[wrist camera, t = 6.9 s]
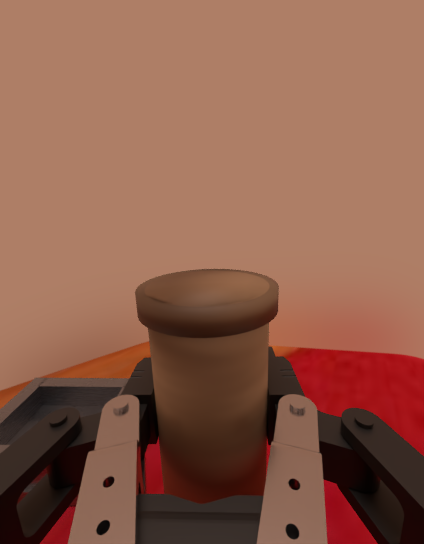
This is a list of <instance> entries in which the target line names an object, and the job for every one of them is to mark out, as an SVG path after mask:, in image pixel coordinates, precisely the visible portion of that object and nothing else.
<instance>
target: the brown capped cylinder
mask: <svg viewBox="0 0 424 544" xmlns="http://www.w3.org/2000/svg"><path fill="white" fill-rule="evenodd" d="M278 289H279V288H278V284H277V283H276V281H274V280H273V279H271V278H269V277H267V276H265V275H262V274H258V273H253V272H248V271H241V270H230V269H202V270H190V271H182V272H176V273H171V274H166V275H162V276H159V277H156V278H153V279H150V280H148V281H146V282H144V283H143V284H141V285H140V286H139V287H138V288H137V289H136V292H135V295H136V304H137V313H138V318H139V321H140V322H141V323H142V324H143V325H145V326H146V327H147V328H148V332H149V342H150V352H151V362H152V373H153V383H154V393H155V403H156V413H157V423H158V433H159V444H160V454H161V464H162V474H163V484H164V494H170V495H173V496H176V497H180V498H183V499H186V500H189V501H192V502H195V503H198V504H205V503H209V502H213V501H216V500H220V499H224V498H227V497H231V496H235V495H252V496H264V490H265V483H266V451H267V390H268V340H269V322H270V321H271V320H273V319H274V317H275V316H276V315H277V312H278Z"/></svg>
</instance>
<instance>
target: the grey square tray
mask: <svg viewBox="0 0 424 544" xmlns="http://www.w3.org/2000/svg"><path fill="white" fill-rule="evenodd" d="M128 380H129V379H118V378H35V379H34V380H33V381H32V382H30V383H29V384H28V385H27V386H26V387H25V388H24V389H23V390H22V391H20V392H19V393H18V394H17V395H16V396H15V397H14V398H13V399H11V400H10V401H9V402H8V403H7V404H6V405H5V406H4V407H3V408H1V409H0V453H1V452H3V451H4V450H5V449H6V448H7V447H9V446H10V445H11V444H12V443H14V442H15V441H16V440H17V439H19V438H20V437H21V436H22V435H23V434H25V433H26V432H27V431H28V430H30V429H31V428H32V427H33V426H34V425H36V424H37V423H38V422H39V421H41V420H42V419H43V418H44V417H46V416H47V415H48V414H50V413H52V412H54V411H56V410H58V409H62V408H67V407H72V408H76V409H77V410H78V411H79V413H80V417H84V416H89V415H93V414H97V413H100V412H102V409H103V407H104V406H105V404H106V403H107V402H108V401H110V400H111V399H113V398H115V397H118V396H120V395H121V393H122V391H123V389H124V387H125V386H126V384H127V382H128ZM46 474H47V471H46V468H45V469H44V470H43V471H42V472H41V473H40V474H39V475H38V476H37V477H36V478H35V479H34V480H33V481H32V482H31V483H30V484H29V485H28V486H27V487H26V489H25V490H24V491H23V492H22V494H21V495H20V497H19V499H18V502H17V504H18V503H19V502H20V501H21V500H22V499H23V498H24V497H25V496H26V495H27V494H28V493H29V492H30V491H31V490H32V489H33V487H34V486H35V485H36V484H37V483H38V482H39V481H40V480H41V479H42V478H43V477H44V476H45V475H46ZM78 496H79V494H78V495H77V496H76V498H75V499H74V500H73V501H72V503H71V504H70V505H69V506H76V505H77V500H78Z"/></svg>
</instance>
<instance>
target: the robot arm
mask: <svg viewBox="0 0 424 544" xmlns="http://www.w3.org/2000/svg"><path fill="white" fill-rule="evenodd" d="M158 436H159V433H158V423H157V413H156V403H155V393H154V383H153V373H152V362H151V358H144V359H143V360H141V361H140V362H139V363H138V364H137V366H136V367H135V369H134V372H133V373H132V375H131V378H129V380H128V382H127V384H126V386H125V387H124V389H123V391H122V393H121V395H120V396H118V397H115V398H113V399H111V400H110V401H108V402H107V403H106V404H105V406H104V407H103V409H102V412H100V413H97V414H93V415H89V416H84V417H80V413H79V411H78V410H77V409H76V408H72V407H67V408H62V409H58V410H56V411H54V412H52V413H50V414H48V415H47V416H46V417H44V418H43V419H42V420H41V421H39V422H38V423H37V424H36V425H34V426H33V427H32V428H31V429H30V430H28V431H27V432H26V433H25V434H23V435H22V436H21V437H20V438H19V439H17V440H16V441H15V442H14V443H12V444H11V445H10V446H9V447H7V448H6V449H5V450H4V451H3V452H1V453H0V544H40V542H41V541H42V540H43V539H44V537H45V536H46V535H47V533H48V532H49V531H50V530H51V528H52V527H53V526H54V524H55V523H56V522H57V521H58V519H59V518H60V517H61V516H62V514H63V513H64V512H65V510H66V509H67V508H68V507H69V505H70V504H71V503H72V501H73V500H74V499H75V498H76V496H77V495H78V494H79V496H78V500H77V505H76V509H75V514H74V518H73V523H72V527H71V532H70V536H69V541H68V544H327V531H326V515H325V499H324V483H323V479H324V480H327V481H330V482H333V483H336V484H337V485H338V488H339V489H340V491H341V492H342V494H343V495H344V496H345V498H346V499H347V501H348V502H349V503H350V505H351V506H352V508H353V509H354V510H355V512H356V513H357V515H358V516H359V518H360V519H361V520H362V522H363V523H364V525H365V526H366V527H367V529H368V530H369V532H370V533H371V534H372V536H373V537H374V539H375V540H376V542H377V543H378V544H424V456H423V455H421V454H420V453H419V452H418V451H417V450H416V449H415V448H413V447H412V446H411V445H410V444H409V443H408V442H407V441H405V440H404V439H403V438H402V437H401V436H400V435H399V434H397V433H396V432H395V431H394V430H393V429H392V428H391V427H389V426H388V425H387V424H386V423H385V422H384V421H382V420H381V419H380V418H379V417H378V416H376V415H375V414H373V413H371V412H369V411H367V410H364V409H359V408H349V409H346V410H345V411H344V412H343V413H342V417H337V416H333V415H329V414H326V413H323V412H320V411H318V410H317V408H316V406H315V404H314V403H313V402H312V401H311V400H309V399H308V398H306V397H305V395H304V393H303V391H302V389H301V386H300V384H299V382H298V380H297V377H296V375H295V373H294V371H293V368H292V366H291V364H290V362H289V361H288V360H286V359H285V358H284V357H275V354H274V351H273V349H272V347H268V390H267V439H268V444H269V445H271V449H270V456H269V462H268V469H267V476H266V483H265V490H264V496H252V495H235V496H231V497H227V498H224V499H220V500H216V501H213V502H209V503H205V504H198V503H195V502H192V501H189V500H186V499H183V498H180V497H176V496H173V495H170V494H146V457H145V452H146V449H147V446H148V444H156V443H157V440H158ZM45 468H46V471H47V474H46V475H45V476H44V477H43V478H42V479H41V480H40V481H39V482H38V483H37V484H36V485H35V486H34V487H33V489H32V490H31V491H30V492H29V493H28V494H27V495H26V496H25V497H24V498H23V499H22V500H21V501H20V502H19V503H18V504H17V502H18V499H19V497H20V495H21V494H22V492H23V491H24V490H25V489H26V487H27V486H28V485H29V484H30V483H31V482H32V481H33V480H34V479H35V478H36V477H37V476H38V475H39V474H40V473H41V472H42V471H43V470H44V469H45Z"/></svg>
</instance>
